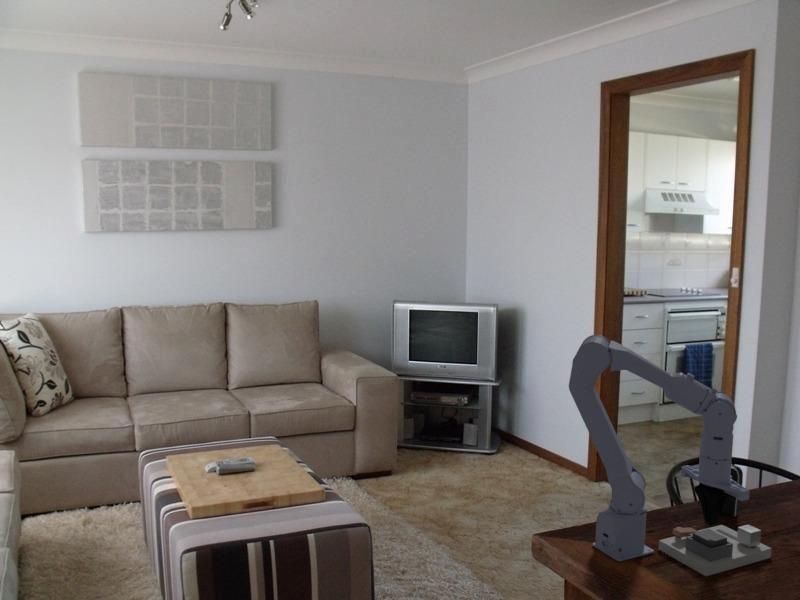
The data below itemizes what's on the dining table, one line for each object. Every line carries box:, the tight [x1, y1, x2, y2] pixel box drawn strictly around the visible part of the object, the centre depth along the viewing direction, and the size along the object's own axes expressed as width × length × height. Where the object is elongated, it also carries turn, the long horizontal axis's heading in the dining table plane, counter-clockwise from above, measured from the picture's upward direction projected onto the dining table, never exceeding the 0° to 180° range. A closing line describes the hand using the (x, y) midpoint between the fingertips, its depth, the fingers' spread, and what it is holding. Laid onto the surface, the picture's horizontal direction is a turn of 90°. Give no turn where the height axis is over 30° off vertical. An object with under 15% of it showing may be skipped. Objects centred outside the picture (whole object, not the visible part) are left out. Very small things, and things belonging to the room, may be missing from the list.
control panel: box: [658, 524, 772, 577], centre depth 149 cm, size 18×12×4 cm, turn 116°
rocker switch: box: [672, 527, 699, 537], centre depth 151 cm, size 5×2×1 cm, turn 116°
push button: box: [692, 528, 727, 548], centre depth 146 cm, size 4×4×2 cm
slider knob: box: [737, 524, 762, 547], centre depth 149 cm, size 3×3×3 cm
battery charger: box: [720, 463, 744, 518], centre depth 170 cm, size 7×4×11 cm, turn 38°
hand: (711, 522), depth 145 cm, fingers closed
